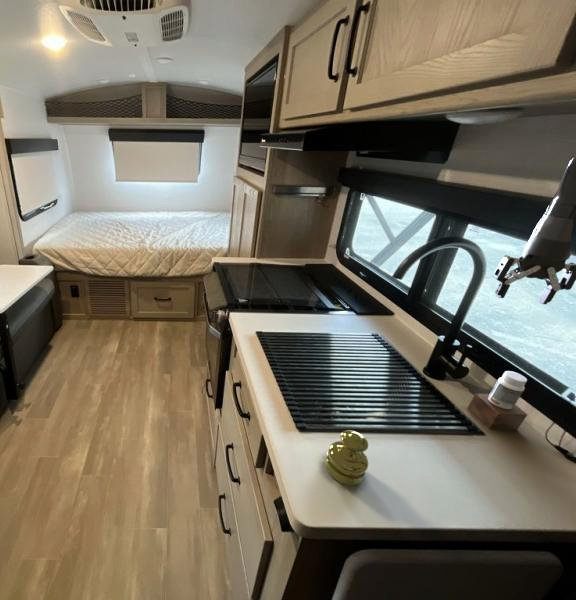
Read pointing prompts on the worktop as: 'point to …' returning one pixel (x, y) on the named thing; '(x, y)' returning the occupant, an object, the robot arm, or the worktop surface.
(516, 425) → the walnut block
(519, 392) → the pill bottle
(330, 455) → the gold metal rounded figure
